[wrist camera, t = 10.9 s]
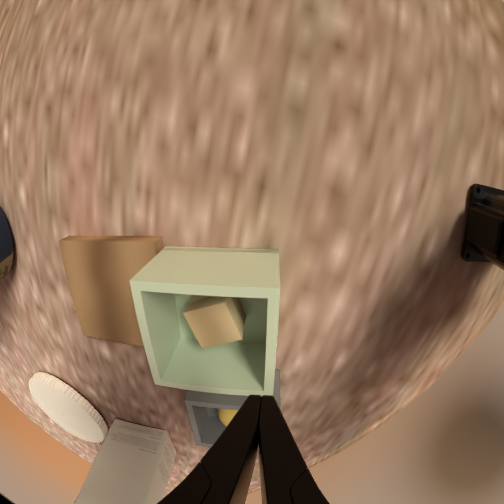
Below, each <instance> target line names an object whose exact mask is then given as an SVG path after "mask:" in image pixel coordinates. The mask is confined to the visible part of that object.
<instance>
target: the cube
mask: <svg viewBox="0 0 504 504" xmlns="http://www.w3.org/2000/svg"><path fill="white" fill-rule="evenodd" d="M183 314H184V316H185V318H186V320H187V322H188V324H189V326H190V328H191V329H192V331H193V333H194V335H195V337H196V339H197V340H198V342H199V344H200V346H201V348H205V347H210V346H215V345H220V344H224V343H229V342H233V341H238V340H242V338H243V333H244V327H245V321H246V313H245V311H244V309H243V306H242V304H241V302H240V299H239V297H222V296H204V295H192V297H191V299H190V301H189V302H188V304H187V306H186V308H185V310H184V311H183Z"/></svg>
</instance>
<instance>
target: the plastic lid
mask: <svg viewBox="0 0 504 504" xmlns="http://www.w3.org/2000/svg"><path fill="white" fill-rule="evenodd" d="M29 388H30V392H31V394H32V395H33V397H34V399H35V400H36V402H37V403H38V405H39V406H40V408H42V410H43V411H44V412H45V413H46V414H47V415H48V416H49V417H50V418H51V419H52V420H53V421H55V423H57V424H58V425H59V426H61V427H62V428H63V429H64V430H66V431H67V432H70V433H71V434H73V435H75V436H76V437H79V438H81V439H82V440H85V441H88V442H92V443H101V442H102V441H103V440H104V438H105V436H106V434H107V432H108V428H107V425H106V423H105V421H104V419H103V418H102V416H101V415H100V414H99V413H98V412H97V410H96V409H94V407H93V406H92V405H91V404H90V403H89V402H88V401H87V400H85V398H84V397H82V396H81V395H80V394H79V393H77V391H75V390H74V389H73V388H71V387H70V386H69V385H67V384H66V383H64V382H63V381H61V380H59V379H58V378H56V377H53V376H52V375H50V374H47V373H44V372H43V373H42V372H39V373H38V372H37V373H36V374H34V376H33V377H32V378H31V379H30V380H29Z"/></svg>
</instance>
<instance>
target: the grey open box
mask: <svg viewBox="0 0 504 504" xmlns="http://www.w3.org/2000/svg"><path fill="white" fill-rule="evenodd" d="M273 396H274V397H275V399H276V402H277V404H278V406H279V408H280V370H275V376H274V389H273ZM247 397H248V396H243V395H229V394H218V393H209V392H200V391H192V390H187V392H186V395H185V398H184V402H185V406H186V410H187V413H188V417H189V421H190V424H191V428H192V431H193V435H194V438H195V442H196V445H200V446H208V447H212V445H213V444H214V443H215V441H216V440H217V439H218V437H219V436H220V435H221V433H222V432H223V431H224V429H225V428H226V427H227V426H225V425H224V424H223V423H222V422H221V420H220V418H219V415H218V411H219V409H229V410H239V409H240V407H241V406H242V404H243V403H244V402H245V400H246V399H247ZM261 397H262V396H261ZM258 451H259V446H258Z"/></svg>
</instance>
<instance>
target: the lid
mask: <svg viewBox="0 0 504 504" xmlns="http://www.w3.org/2000/svg"><path fill="white" fill-rule="evenodd" d="M59 243H60V248H61V253H62V258H63V263H64V267H65V272H66V276H67V280H68V284H69V288H70V292H71V296H72V299H73V303H74V306H75V310H76V313H77V316H78V319H79V322H80V326H81V329H82V331H83V334H84V335H86V336H90V337H95V338H100V339H104V340H109V341H114V342H120V343H125V344H131V345H137V346H143V347H144V344H143V341H142V337H141V333H140V328H139V324H138V320H137V315H136V311H135V306H134V301H133V296H132V291H131V286H130V279H131V278H133V277H134V276H135V275H136V274H137V273H138V272H139V271H140V270H141V269H142V268H143V267H144V266H145V265H146V264H147V263H148V262H150V261H151V260H152V259H153V258H154V257H155V256H156V255H157V254H158V253H159V252H160V251H161V250H163V240H162V236H68V237H66V238H64V239H62V240H60V241H59Z"/></svg>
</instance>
